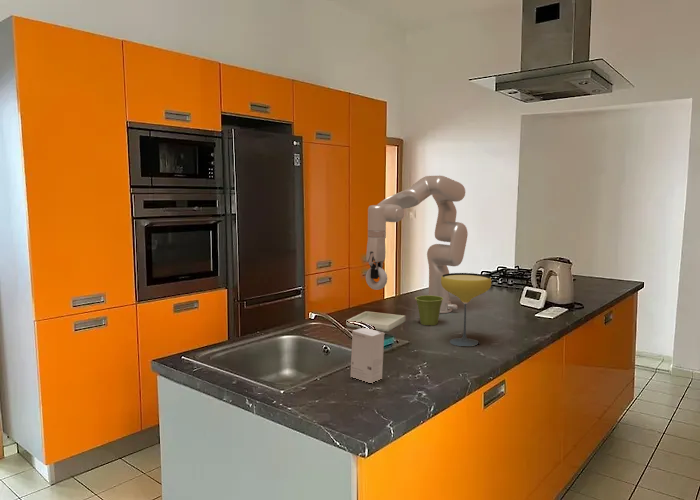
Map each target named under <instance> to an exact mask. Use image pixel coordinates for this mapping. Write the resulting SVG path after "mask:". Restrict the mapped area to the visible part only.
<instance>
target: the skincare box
mask: <svg viewBox="0 0 700 500" xmlns="http://www.w3.org/2000/svg"><path fill="white" fill-rule="evenodd" d="M351 335H352V336H351V338H352V339H351V354H350V355H351V358H350V378H351V377H353V378H356V379H359V380H362V381H361V382H363V381H365V382H364V383H366V382H368V383H372V384H374V383H373V382H375V381H377V382H379V381H378V380H380V379H382V380H383V370H384V369H383V367H384V366H383V365H384V364H383V362H384V346H385V332H384V331H380V330H373V329H368V328H357V329H353V330H352V333H351ZM356 379H355V380H356ZM359 380H358V381H359ZM380 381H381V380H380ZM368 383H367V384H368ZM375 383H376V382H375Z"/></svg>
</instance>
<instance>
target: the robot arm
mask: <svg viewBox="0 0 700 500" xmlns="http://www.w3.org/2000/svg"><path fill="white" fill-rule="evenodd" d="M430 196H432V198H433V199H434V201H435V203H436V205H437V211H438V213H437V218H436V224H435V229H434V238H435V240H437V241H440V242H444V243H450V244H442V243H435V244H432V245H430V246H429V247H428V248H427V252H426V257H427V263H428V295H433V296H440V297H442V298H443V300H442V303H441V307H440V313H439V314H449V313H451V312H453V310H458V304H456V303H452V301H451V300H450V292H448V291H446V290H445V289H444V288H443V287H442V285H441V277H442V275H444V274H450V271H449V267H458V266H459V265H461V263H462V262H463V260H464V257H465V251H466V246H467V242H468V241H467V240H468V235H469V233H468V229H467V226H466V225H465V224H464V223H462V222H459V221H457V222H456V220H457V208H456V205H455V203H456V202H460V201H462V200H463V199H464V198H465V197H466V188H465V186H464V184H462V183H461V182H459V181H456V180H454V179H452V178H449V177H447V176H444V175H425V176H423V177H422V178H420V179H418V180H417V181H416V182H414V183H413V184H411V186H409V187H408V188H406V189H404V190H402V191H400V192H397V193H395V194H392V195H389V196H388V197H385V198H384V199H383V200H381V201H380V202H379V203H377V204H372V205H369V206H368V208H367V244H366V253H365V254H366V258H365V260H366V262H367V263H368V265H369V266H370V267H369V269H371V279H374V280H379V276H378V269H377V267H381V268H382V269H383V266H384V262H385V260H386V253H387V252H386V251H387V250H386V237H387V223H399V222H400V221H402V219H403V218H404V217H405V211H404V210H405V209H410V208H413V207H416V206H419V205H420V204H421V203H422V202H423V201H425V200H426V199H428V198H429V197H430ZM454 202H455V203H454Z"/></svg>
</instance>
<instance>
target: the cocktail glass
mask: <svg viewBox="0 0 700 500" xmlns="http://www.w3.org/2000/svg"><path fill="white" fill-rule="evenodd" d="M441 285H442V287H443V288H444V289H445V290H446V291H448V292H449V294H452V295H453V296H455V297H457V298H458V299H459V300H460V301H461V302H462V304H464V312H463V313H464V314H463V315H464V317H463V331H462V332H463V333H462V337H457V338H456V337H455V338H453V339H450V340H449V343H450V344H451V345H453V346H456V345H457V346H456V347H461V346H472V345H476V344H478V342H479V341H478V340H476V339H473V338H468V337H467V305H468V304H469V303H470V302H471V301H472V299H474V298H476V297H478V296H480V295H483V294H484V293H486V292H488V291H489V290H490V289H491V287H492V277H491V276H490V275H488V274H487V275H486V274H481V273H474V272H473V273H472V272H470V273H469V272H452V273H451V272H449V274H444V275H442V277H441Z"/></svg>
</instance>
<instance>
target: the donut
mask: <svg viewBox="0 0 700 500" xmlns="http://www.w3.org/2000/svg"><path fill="white" fill-rule="evenodd" d="M377 269H378V276H379V277H378V281H375V279H371V269H370V268H369V269H368V270H367V272H366V273H365V281H366V284H367V285H368V287H369V288H371V289H372V290H375V291H376V290H378V291H379V290H381V289H383V288H384V287H386V285H387V283H388V275H387V272H386V271H385V269H383V268H381V267H377Z"/></svg>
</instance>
